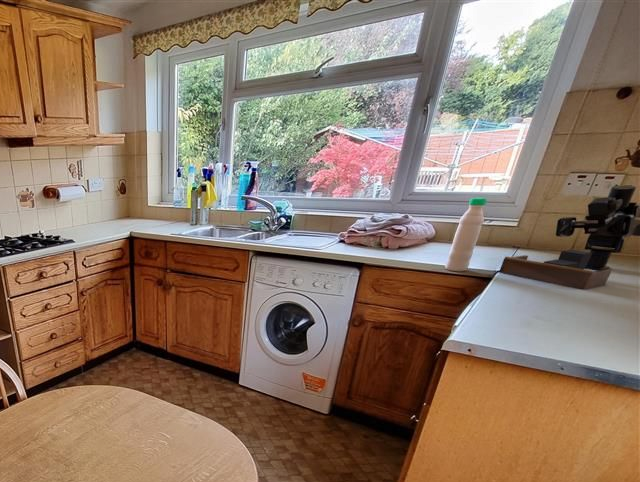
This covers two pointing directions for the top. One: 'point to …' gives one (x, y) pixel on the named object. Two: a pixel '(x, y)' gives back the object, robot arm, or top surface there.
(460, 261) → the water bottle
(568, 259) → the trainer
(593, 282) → the brown shallow tray
